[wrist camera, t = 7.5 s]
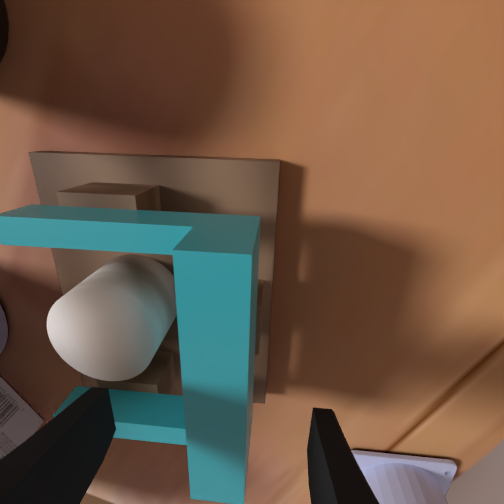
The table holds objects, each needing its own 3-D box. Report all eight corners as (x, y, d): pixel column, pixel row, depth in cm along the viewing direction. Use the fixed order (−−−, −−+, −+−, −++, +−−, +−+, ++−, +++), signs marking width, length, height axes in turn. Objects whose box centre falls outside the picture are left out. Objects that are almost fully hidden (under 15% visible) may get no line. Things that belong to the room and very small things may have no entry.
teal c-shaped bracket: (80, 401, 18) (22, 479, 14) (31, 204, 14) (-75, 235, 10) (252, 417, 17) (243, 505, 13) (260, 216, 13) (252, 254, 9)
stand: (93, 374, 23) (39, 444, 18) (45, 150, 17) (-58, 159, 12) (265, 389, 22) (261, 468, 17) (279, 159, 16) (280, 172, 11)
